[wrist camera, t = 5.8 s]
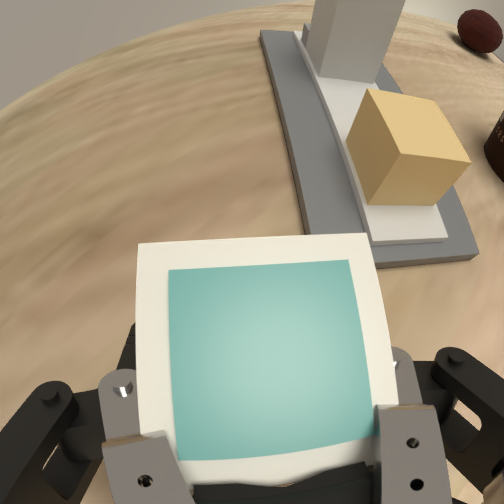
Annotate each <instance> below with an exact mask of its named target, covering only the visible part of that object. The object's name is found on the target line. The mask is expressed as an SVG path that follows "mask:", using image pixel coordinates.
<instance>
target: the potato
mask: <svg viewBox="0 0 504 504" xmlns="http://www.w3.org/2000/svg"><path fill="white" fill-rule="evenodd" d="M457 28H458V33H459V36H460V38H461V39H462V41H463V42H464V43H465V44H466V45H467V46H468V47H470V48H471V49H473V50H475V51H478V52H481V53H490V52H493V51H495V50H496V49H497V48H498V47H499V46H500V44H501V42H502V39H503V34H502V29H501V27H500V26H499V24H498V22H497V21H496V20H495V19H494V18H493V17H492V16H490V15H489V14H488V13H486V12H484V11H482V10H476V9H473V10H468V11H465V12H464V13H463V14H462V15H461V16H460V18H459V20H458V25H457Z"/></svg>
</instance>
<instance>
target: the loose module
mask: <svg viewBox="0 0 504 504" xmlns="http://www.w3.org/2000/svg"><path fill="white" fill-rule="evenodd" d="M136 375H137V395H138V410H139V422H140V433H141V434H145V433H149V432H153V431H158V430H164V432H165V435H166V438H167V440H168V443H169V445H170V448H171V450H172V453H173V455H174V458H175V460H176V462H177V465H178V467H179V469H180V472H181V474H182V476H183V478H184V481H185V483H186V485H187V487H188V489H189V491H194V485H213V484H233V483H240V484H248V485H257V486H276V485H283V484H290V483H296V482H300V481H303V480H305V479H308V478H310V477H312V476H315V475H317V474H319V473H321V472H324V471H326V470H331V469H335V468H339V467H343V466H347V465H351V464H355V463H359V462H363V461H365V464H366V466H370V465H374V457H373V450H372V449H371V448H370V446H371V440H372V435H375V429H374V421H375V414H376V406H377V404H399V401H398V392H397V384H396V377H395V369H394V362H393V356H392V349H391V343H390V337H389V331H388V326H387V320H386V315H385V310H384V305H383V300H382V295H381V291H380V286H379V281H378V277H377V273H376V268H375V264H374V260H373V256H372V252H371V248H370V244H369V240H368V236H367V233H345V234H320V235H296V236H274V237H253V238H233V239H213V240H195V241H177V242H159V243H143V244H138V260H137V280H136Z"/></svg>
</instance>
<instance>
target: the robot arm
mask: <svg viewBox="0 0 504 504" xmlns="http://www.w3.org/2000/svg"><path fill="white" fill-rule="evenodd" d="M391 349H392V356H393V362H394V369H395V377H396V384H397V392H398V401H399V404H377V406H376V414H375V421H374V429H375V435H372V440H371V446H370V448H371V449H372V450H373V457H374V465H370V466H366V464H365V461H363V462H359V463H355V464H351V465H347V466H343V467H339V468H335V469H331V470H326V471H324V472H321V473H319V474H317V475H315V476H312V477H310V478H308V479H305V480H303V481H300V482H298V483H295V484H293V485H290V486H287V487H268V486H257V485H248V484H240V483H233V484H213V485H194V495H193V496H191V494H190V491H189V489H188V487H187V485H186V483H185V481H184V478H183V476H182V474H181V472H180V469H179V467H178V465H177V462H176V460H175V458H174V455H173V453H172V450H171V448H170V445H169V443H168V440H167V438H166V435H165V432H164V430H158V431H153V432H149V433H145V434H141V433H140V422H139V410H138V395H137V375H136V322H135V323H134V324H133V325H132V327H131V329H130V332H129V335H128V338H127V340H126V345H125V346H124V349H123V352H122V354H121V357H120V360H119V363H118V366H117V369H116V370H115V371H113V372H110V373H108V374H107V375H106V376H104V377H103V378H102V380H101V381H100V383H99V386H98V389H95V390H90V391H85V392H79V393H73V392H72V390H71V388H70V387H69V386H68V385H67V384H66V383H64V382H61V381H50V382H46V383H44V384H41V385H40V386H38V387H37V388H36V389H35V390H34V391H33V392H32V393H31V395H30V396H29V397H28V398H27V399H26V401H25V402H24V403H23V404H22V405H21V407H20V408H19V409H18V410H17V412H16V413H15V414H14V415H13V417H12V418H11V419H10V420H9V422H8V423H7V424H6V425H5V427H4V428H3V429H2V430H1V432H0V504H80V502H81V500H82V498H83V496H84V494H85V493H86V491H87V489H88V487H89V485H90V483H91V481H92V479H93V477H94V475H95V473H96V471H97V469H98V467H99V466H100V464H101V462H102V460H103V458H104V462H105V467H106V472H107V476H108V480H109V485H110V489H111V493H112V496H113V500H114V504H467V503H465V502H462V501H460V500H457V499H455V498H452V497H451V489H450V482H449V475H448V469H447V463H446V459H447V460H448V461H449V462H450V463H451V464H452V465H453V466H454V467H455V468H456V469H457V470H458V471H459V472H460V473H461V474H462V475H464V476H465V477H466V478H467V479H468V480H469V481H470V482H471V483H472V484H473V485H474V486H475V487H476V488H477V489H478V490H479V491H480V492H481V493H482V494H483V500H484V501H483V502H482V503H481V504H504V379H503V378H502V377H500V376H499V375H497V374H496V373H495V372H493V371H492V370H491V369H489V368H488V367H487V366H485V365H484V364H482V363H481V362H480V361H478V360H477V359H476V358H474V357H473V356H471V355H470V354H469V353H467V352H466V351H464V350H462V349H459V348H455V347H446V348H442V349H440V350H439V351H438V352H437V354H436V357H435V359H434V361H413V360H412V358H411V356H410V355H409V354H408V353H407V352H405V351H404V350H402V349H400V348H397V347H392V346H391ZM458 400H460V401H461V402H462V403H463V404H465V405H466V406H467V407H468V408H469V409H471V410H472V411H473V412H474V413H475V414H476V415H478V416H479V418H480V420H481V423H482V426H481V429H480V431H479V430H477V429H476V428H475V427H474V426H473V425H472V424H470V423H469V422H468V421H467V420H466V419H465V418H464V417H462V416H461V415H460V414H459V413H458V412H457V411H456V410H454V407H455V405H456V403H457V401H458ZM56 445H57V446H58V447H57V449H56V450H55V452H54V453H53V455H52V456H51V458H50V459H49V461H48V463H47V464H46V466H45V467H44V469H43V466H44V464H45V463H46V461H47V459H48V458H49V456H50V455H51V453H52V452H53V450H54V448H55V447H56ZM42 470H43V471H42Z"/></svg>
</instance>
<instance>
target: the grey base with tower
mask: <svg viewBox="0 0 504 504" xmlns="http://www.w3.org/2000/svg"><path fill="white" fill-rule="evenodd" d="M404 3H405V0H316V1H315V6H314V11H313V16H312V20H311V24H307V23H304V27H303V32H302V31H293V32H289V31H275V30H260V40H261V44H262V48H263V51H264V55H265V59H266V62H267V66H268V70H269V74H270V77H271V81H272V85H273V89H274V93H275V97H276V101H277V105H278V109H279V113H280V118H281V122H282V126H283V130H284V135H285V139H286V143H287V148H288V152H289V157H290V161H291V166H292V171H293V175H294V180H295V185H296V190H297V195H298V199H299V204H300V210H301V215H302V220H303V225H304V230H305V235H320V234H345V233H367V236H368V240H369V244H370V248H371V252H372V256H373V260H374V264H375V268H376V269H380V268H392V267H402V266H413V265H423V264H433V263H443V262H452V261H461V260H471V259H472V258H474V257H475V256H477V255H478V254H479V251H478V248H477V245H476V242H475V239H474V236H473V233H472V230H471V228H470V225H469V222H468V220H467V217H466V215H465V212H464V210H463V207H462V205H461V202H460V200H459V198H458V195H457V193H456V191H455V189H454V186H453V184H454V183H455V181H456V180H457V179H458V178H459V177H460V176H461V175H462V173H463V172H464V171H465V170H466V169H467V167H468V166H469V165H470V164H471V161H470V159H469V157H468V155H467V153H466V152H465V150H464V148H463V146H462V144H461V143H460V141H459V139H458V138H457V136H456V134H455V132H454V131H453V129H452V127H451V126H450V124H449V123H448V121H447V119H446V118H445V116H444V115H443V113H442V112H441V110H440V109H439V107H438V106H437V104H436V103H435V101H431V100H427V99H423V98H418V97H414V96H409V95H404V94H403V93H402V91H401V90H400V88H399V87H398V85H397V84H396V82H395V81H394V79H393V78H392V76H391V75H390V73H389V72H388V71H387V69H386V68H385V66H384V65H383V64H382V61H383V59H384V56H385V54H386V51H387V49H388V46H389V43H390V41H391V38H392V35H393V33H394V30H395V27H396V25H397V22H398V19H399V17H400V14H401V11H402V9H403V6H404Z"/></svg>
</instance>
